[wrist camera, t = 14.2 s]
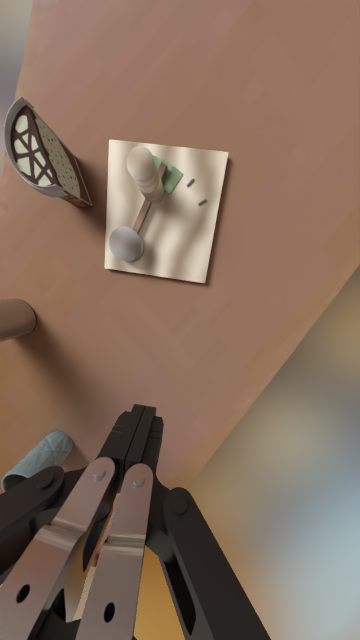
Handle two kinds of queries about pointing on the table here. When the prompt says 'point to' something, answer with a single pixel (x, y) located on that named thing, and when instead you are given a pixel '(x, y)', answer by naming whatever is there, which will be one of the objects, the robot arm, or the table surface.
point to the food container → (42, 156)
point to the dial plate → (167, 210)
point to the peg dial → (149, 181)
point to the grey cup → (39, 459)
